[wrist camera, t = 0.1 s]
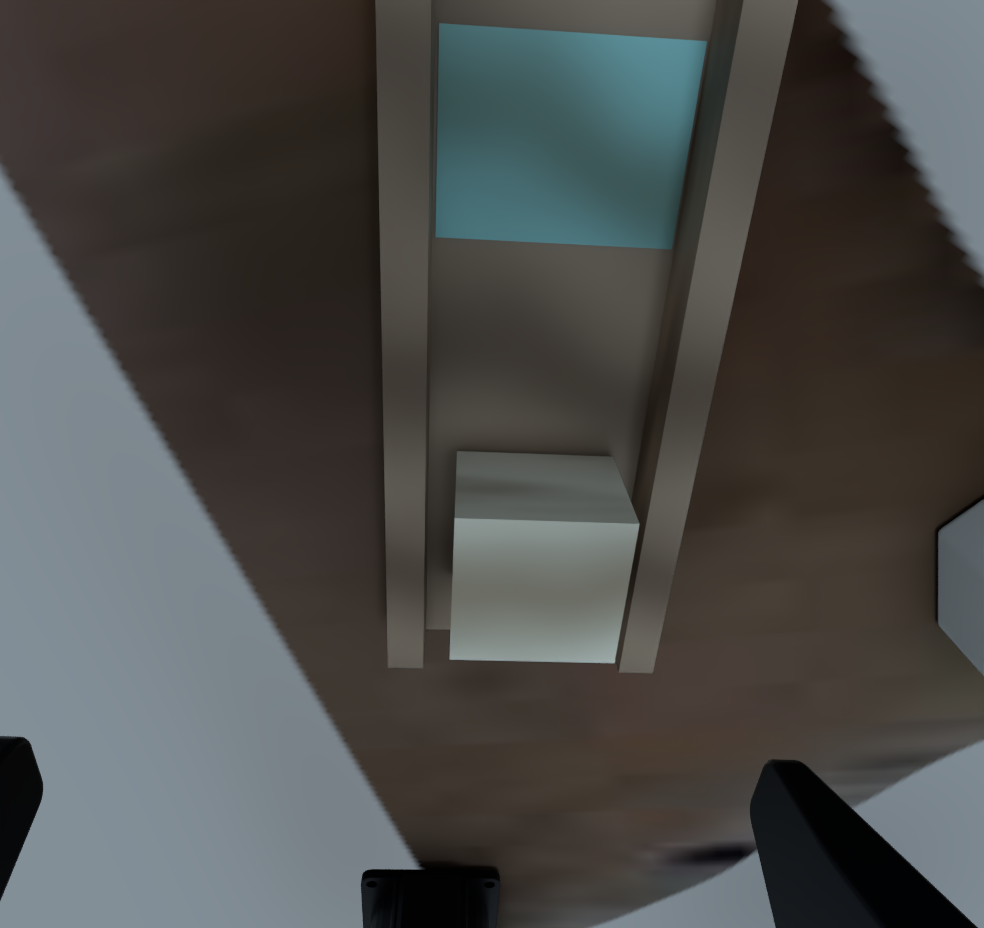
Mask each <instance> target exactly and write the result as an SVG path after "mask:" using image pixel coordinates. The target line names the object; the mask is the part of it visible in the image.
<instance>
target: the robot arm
mask: <svg viewBox="0 0 984 928" xmlns="http://www.w3.org/2000/svg"><path fill="white" fill-rule="evenodd" d="M42 794H43V781H42V778H41V774H40V771H39V768H38V766H37V763H36V759H35V756H34V753H33V750H32V747H31V744H30V743H29V741H28V740H27V739H25V738H24V737H11V736H10V737H9V736H0V900H1V898H2V896H3V893H4V890H5V888H6V886H7V883H8V881H9V879H10V876H11V874H12V871H13V869H14V866H15V863H16V861H17V859H18V856H19V854H20V852H21V849H22V847H23V844H24V842H25V839H26V837H27V835H28V832H29V830H30V827H31V825H32V823H33V820H34V818H35V815H36V813H37V810H38V808H39V805H40V803H41V799H42ZM750 818H751V824H752V828H753V832H754V836H755V841H756V845H757V849H758V854H759V858H760V862H761V866H762V871H763V875H764V879H765V884H766V888H767V892H768V896H769V900H770V905H771V909H772V913H773V917H774V922H775V926H776V928H978V927H976V926H975V925H974V924H973V923H972V922H971V921H970V920H969V919H968V918H967V917H966V916H965V915H964V914H963V913H962V912H961V911H960V910H959V909H958V908H956V907H955V906H954V905H953V904H952V903H951V902H950V901H949V900H948V899H947V898H946V897H945V896H944V895H943V894H942V893H941V892H939V891H938V890H937V889H936V888H935V887H934V886H933V885H932V884H931V883H930V882H929V881H928V880H927V879H926V878H925V877H924V876H923V875H921V874H920V873H919V872H918V871H917V870H916V869H915V868H914V867H913V866H912V865H911V864H910V863H909V862H908V861H907V860H906V859H905V858H904V857H903V856H902V855H901V854H899V853H898V852H897V851H896V850H895V849H894V848H893V847H892V846H891V845H890V844H889V843H888V842H887V841H886V840H884V838H883V837H882V836H880V835H879V834H878V833H877V832H876V831H875V830H874V829H873V828H872V827H871V826H870V825H869V824H868V823H867V822H866V821H864V820H863V819H862V818H861V817H860V816H859V815H858V814H857V813H856V812H855V811H854V810H853V809H852V808H851V807H850V806H849V805H848V804H847V803H846V802H845V801H843V800H842V799H841V798H840V797H839V796H838V795H837V794H836V793H835V792H834V791H833V790H832V789H831V788H830V787H829V786H828V785H827V784H826V783H824V782H823V781H822V780H821V779H820V778H819V777H818V776H817V775H816V774H815V773H814V772H813V771H812V770H811V769H810V768H809V767H807V766H806V765H805V764H803V763H802V762H800V761H797V760H776V759H773V760H769V761H768V762H767V763H765V765H764V767H763V770H762V772H761V775H760V778H759V780H758V783H757V786H756V788H755V791H754V794H753V796H752V799H751V804H750ZM499 892H500V875H499V873H498V872H496V871H493V870H390V869H388V870H387V869H385V870H383V869H382V870H381V869H372V870H367V871H365V872H364V873H363V875H362V881H361V893H362V912H363V928H496V922H497V912H498V902H499Z"/></svg>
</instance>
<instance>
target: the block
mask: <svg viewBox="0 0 984 928" xmlns="http://www.w3.org/2000/svg"><path fill="white" fill-rule="evenodd" d="M639 525H640V524H639V521H638V519H637V516H636V514H635V511H634V509H633V506H632V504H631V501H630V499H629V496H628V494H627V491H626V489H625V486H624V484H623V481H622V478H621V476H620V473H619V471H618V468H617V466H616V463H615V461H614V458H613V457H609V456H582V455H554V454H527V453H499V452H472V451H457V466H456V493H455V520H454V549H453V577H452V605H451V633H450V660H491V661H538V662H585V663H615V657H616V652H617V646H618V641H619V635H620V630H621V624H622V619H623V613H624V608H625V602H626V597H627V591H628V586H629V580H630V574H631V569H632V563H633V558H634V552H635V547H636V541H637V536H638V530H639Z"/></svg>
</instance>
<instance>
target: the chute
mask: <svg viewBox="0 0 984 928" xmlns="http://www.w3.org/2000/svg"><path fill="white" fill-rule="evenodd" d="M797 3H798V0H375V7H376V60H377V113H378V166H379V219H380V271H381V324H382V377H383V430H384V483H385V536H386V589H387V642H388V668H423V663H424V651H425V639H426V629H442V630H451V605H452V577H453V549H454V520H455V493H456V466H457V451H472V452H499V453H527V454H554V455H582V456H609V457H613V458H614V461H615V463H616V466H617V468H618V471H619V473H620V476H621V478H622V481H623V484H624V486H625V489H626V491H627V494H628V496H629V499H630V501H631V504H632V506H633V509H634V511H635V514H636V516H637V519H638V521H639V524H640V525H639V530H638V536H637V541H636V547H635V552H634V558H633V563H632V569H631V574H630V580H629V586H628V591H627V597H626V602H625V608H624V613H623V619H622V624H621V630H620V635H619V641H618V646H617V652H616V657H615V660H616V664H617V668H618V672H624V673H653V669H654V664H655V660H656V655H657V650H658V646H659V641H660V637H661V632H662V627H663V623H664V618H665V613H666V609H667V604H668V600H669V595H670V590H671V586H672V581H673V576H674V572H675V567H676V563H677V558H678V553H679V549H680V544H681V539H682V535H683V530H684V526H685V521H686V516H687V512H688V507H689V503H690V498H691V493H692V489H693V484H694V479H695V475H696V470H697V466H698V461H699V456H700V452H701V447H702V442H703V438H704V433H705V429H706V424H707V419H708V415H709V410H710V405H711V401H712V396H713V392H714V387H715V382H716V378H717V373H718V368H719V364H720V359H721V355H722V350H723V345H724V341H725V336H726V332H727V327H728V322H729V318H730V313H731V308H732V304H733V299H734V295H735V290H736V285H737V281H738V276H739V271H740V267H741V262H742V258H743V253H744V248H745V244H746V239H747V234H748V230H749V225H750V221H751V216H752V211H753V207H754V202H755V198H756V193H757V188H758V184H759V179H760V174H761V170H762V165H763V161H764V156H765V151H766V147H767V142H768V137H769V133H770V128H771V124H772V119H773V114H774V110H775V105H776V100H777V96H778V91H779V87H780V82H781V77H782V73H783V68H784V63H785V59H786V54H787V50H788V45H789V40H790V36H791V31H792V27H793V22H794V17H795V13H796V8H797Z"/></svg>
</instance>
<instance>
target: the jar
mask: <svg viewBox="0 0 984 928" xmlns="http://www.w3.org/2000/svg"><path fill="white" fill-rule="evenodd" d="M938 625H939V626H940V628H941V629H942V630H943V631H944V632H945V633H946V635H947V636H948V637H949V638H950V639H951V640H952V641H953V642H954V644H955V645H956V646H957V647H958V648H959V649H960V650H961V651H962V653H963V654H964V655H965V656H966V657H967V658H968V659H969V660H970V662H971V663H972V664H973V665H974V666H975V667H976V668H977V669H978V671H979V672H980V673H981V674H982V675H983V676H984V499H983V500H981V501H980V502H978V503H977V504H975V505H974V506H973V507H971V508H970V509H968V510H967V511H965V512H964V513H963V514H961V515H960V516H958V517H957V518H955V519H954V520H953V521H951V522H950V523H948V524H947V525H945V526H944V527H943V528H941V529H940V530H939V532H938Z"/></svg>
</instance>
